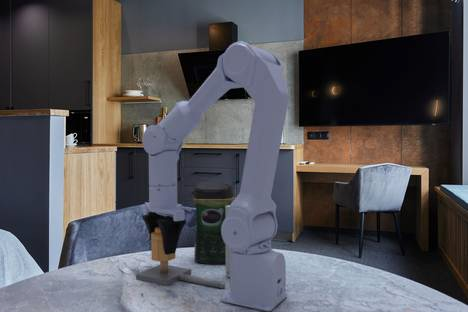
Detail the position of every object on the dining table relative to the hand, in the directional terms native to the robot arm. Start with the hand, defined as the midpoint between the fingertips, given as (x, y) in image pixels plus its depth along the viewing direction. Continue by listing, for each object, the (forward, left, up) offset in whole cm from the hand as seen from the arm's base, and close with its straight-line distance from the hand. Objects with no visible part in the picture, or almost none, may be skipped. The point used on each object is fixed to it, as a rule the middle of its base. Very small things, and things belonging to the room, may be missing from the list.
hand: (163, 250), depth 82 cm
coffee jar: (-3, -15, -6) cm, 16 cm away
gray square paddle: (-5, 0, -5) cm, 8 cm away
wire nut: (0, 0, -2) cm, 2 cm away
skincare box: (-15, -9, -6) cm, 18 cm away
